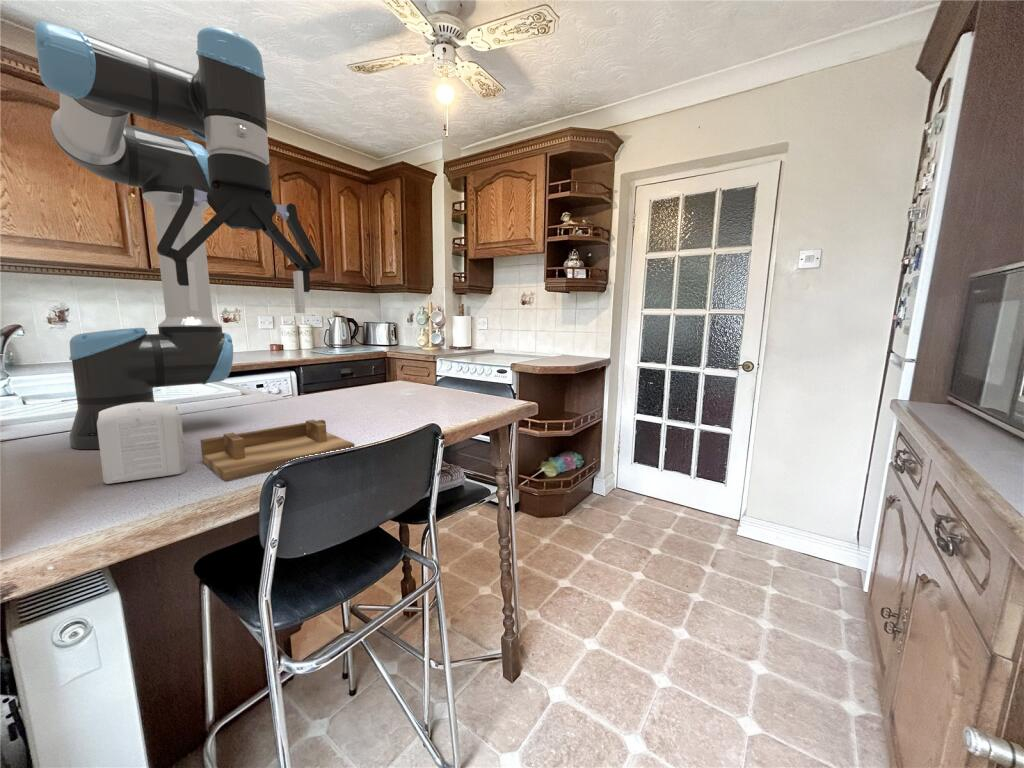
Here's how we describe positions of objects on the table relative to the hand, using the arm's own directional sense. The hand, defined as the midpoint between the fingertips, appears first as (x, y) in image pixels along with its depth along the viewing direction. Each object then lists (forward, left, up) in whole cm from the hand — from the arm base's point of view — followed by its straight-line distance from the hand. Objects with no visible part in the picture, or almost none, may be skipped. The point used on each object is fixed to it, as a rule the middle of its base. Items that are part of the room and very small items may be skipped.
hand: (251, 312), depth 62 cm
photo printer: (-16, -12, -27) cm, 34 cm away
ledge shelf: (-12, +7, -27) cm, 30 cm away
